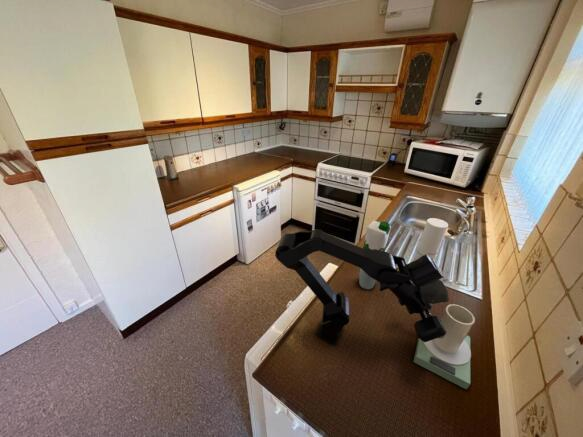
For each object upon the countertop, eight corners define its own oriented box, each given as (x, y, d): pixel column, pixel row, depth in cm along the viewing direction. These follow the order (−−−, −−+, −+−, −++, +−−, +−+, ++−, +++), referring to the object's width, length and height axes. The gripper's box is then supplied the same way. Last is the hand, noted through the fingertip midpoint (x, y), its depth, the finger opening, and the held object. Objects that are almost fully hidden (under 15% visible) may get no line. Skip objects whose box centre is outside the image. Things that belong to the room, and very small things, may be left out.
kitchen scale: (466, 389, 63) (471, 382, 61) (413, 362, 69) (416, 355, 68) (466, 342, 75) (471, 335, 73) (421, 322, 81) (424, 315, 79)
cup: (378, 291, 93) (383, 271, 88) (358, 291, 93) (362, 270, 88) (373, 278, 99) (377, 258, 94) (354, 277, 100) (358, 257, 95)
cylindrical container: (430, 279, 99) (451, 228, 87) (412, 276, 100) (430, 226, 88) (426, 268, 105) (444, 219, 93) (408, 266, 106) (424, 217, 94)
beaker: (451, 357, 67) (468, 329, 61) (428, 339, 72) (441, 311, 66) (462, 345, 70) (479, 316, 64) (439, 328, 75) (453, 300, 69)
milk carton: (377, 268, 105) (386, 230, 95) (358, 260, 110) (365, 222, 100) (384, 259, 111) (394, 221, 101) (366, 251, 116) (373, 215, 106)
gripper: (450, 305, 52) (484, 343, 56) (421, 253, 68) (449, 286, 72) (404, 324, 57) (438, 358, 61) (387, 272, 73) (415, 301, 77)
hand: (435, 322), depth 68 cm, fingers open, 9 cm apart
